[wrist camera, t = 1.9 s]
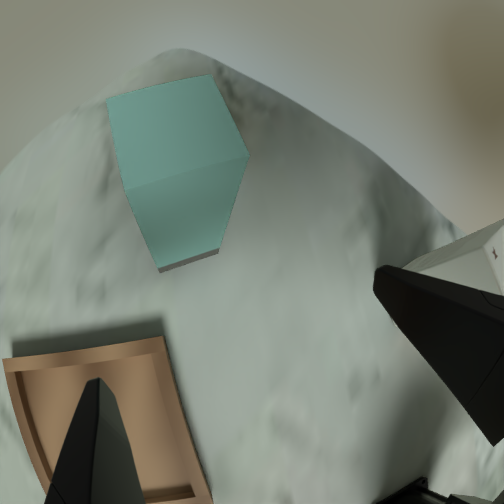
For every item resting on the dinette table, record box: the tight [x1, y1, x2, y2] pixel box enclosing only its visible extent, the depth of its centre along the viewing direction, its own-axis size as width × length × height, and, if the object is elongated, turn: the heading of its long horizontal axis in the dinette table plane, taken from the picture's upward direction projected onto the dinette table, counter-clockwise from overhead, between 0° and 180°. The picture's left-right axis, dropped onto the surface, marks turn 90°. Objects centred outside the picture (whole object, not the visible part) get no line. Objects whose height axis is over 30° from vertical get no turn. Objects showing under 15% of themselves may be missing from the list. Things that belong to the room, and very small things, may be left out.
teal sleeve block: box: [106, 74, 250, 273], centre depth 17 cm, size 4×4×13 cm
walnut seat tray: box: [2, 336, 213, 504], centre depth 17 cm, size 13×13×2 cm
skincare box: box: [391, 219, 504, 327], centre depth 20 cm, size 6×4×12 cm
